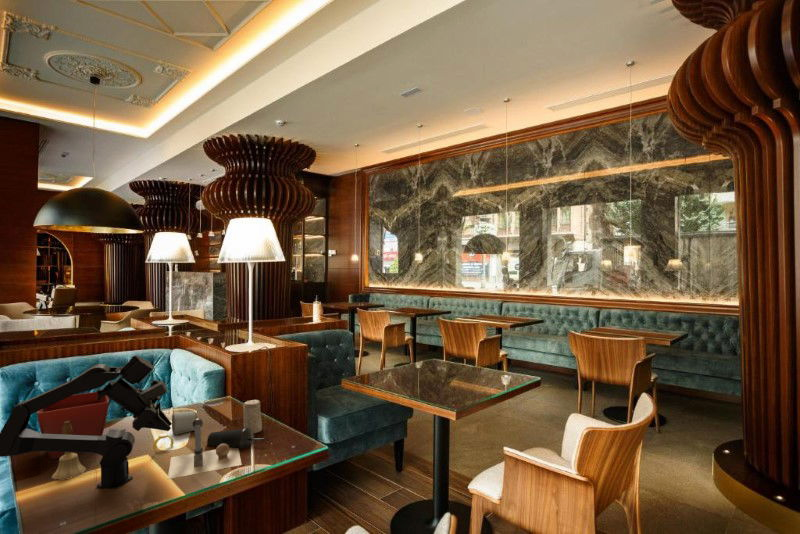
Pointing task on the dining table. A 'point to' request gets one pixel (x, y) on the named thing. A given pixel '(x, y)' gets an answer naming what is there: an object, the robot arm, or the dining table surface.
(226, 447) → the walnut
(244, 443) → the drinking cup
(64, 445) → the robot arm
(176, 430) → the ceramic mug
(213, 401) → the dining table surface
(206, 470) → the board
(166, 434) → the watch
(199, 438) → the lever
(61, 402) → the plant pot
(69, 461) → the hand bell
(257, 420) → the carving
